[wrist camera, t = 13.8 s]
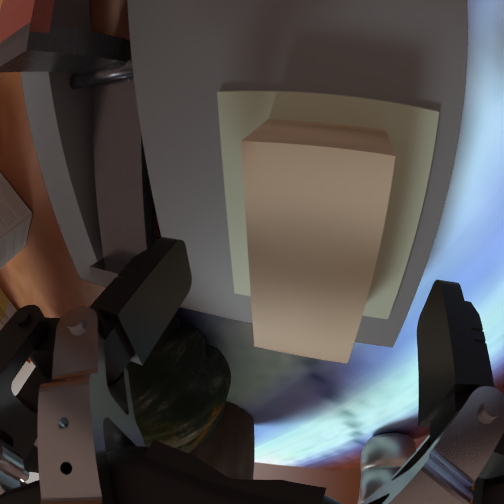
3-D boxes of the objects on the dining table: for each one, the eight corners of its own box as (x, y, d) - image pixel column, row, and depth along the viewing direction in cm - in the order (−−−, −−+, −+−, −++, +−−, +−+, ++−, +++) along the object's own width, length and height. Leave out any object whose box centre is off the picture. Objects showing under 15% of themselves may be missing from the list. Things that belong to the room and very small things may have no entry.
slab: (353, 314, 15) (347, 363, 13) (271, 301, 16) (254, 346, 14) (385, 130, 10) (395, 155, 7) (268, 119, 11) (240, 141, 8)
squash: (215, 441, 30) (165, 525, 15) (102, 382, 32) (14, 422, 17) (261, 327, 30) (227, 369, 16) (132, 273, 33) (33, 267, 18)
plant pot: (170, 406, 42) (124, 493, 30) (174, 363, 32) (106, 486, 20) (262, 444, 41) (227, 535, 29) (300, 414, 31) (257, 545, 19)
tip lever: (170, 272, 18) (79, 350, 11) (101, 257, 20) (13, 313, 13) (185, -83, 9) (105, -141, 2) (112, -56, 11) (27, -88, 4)
